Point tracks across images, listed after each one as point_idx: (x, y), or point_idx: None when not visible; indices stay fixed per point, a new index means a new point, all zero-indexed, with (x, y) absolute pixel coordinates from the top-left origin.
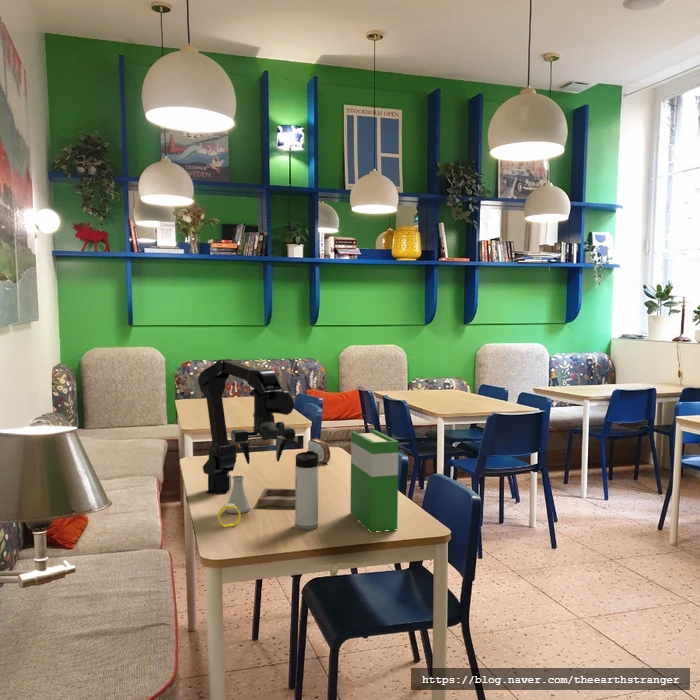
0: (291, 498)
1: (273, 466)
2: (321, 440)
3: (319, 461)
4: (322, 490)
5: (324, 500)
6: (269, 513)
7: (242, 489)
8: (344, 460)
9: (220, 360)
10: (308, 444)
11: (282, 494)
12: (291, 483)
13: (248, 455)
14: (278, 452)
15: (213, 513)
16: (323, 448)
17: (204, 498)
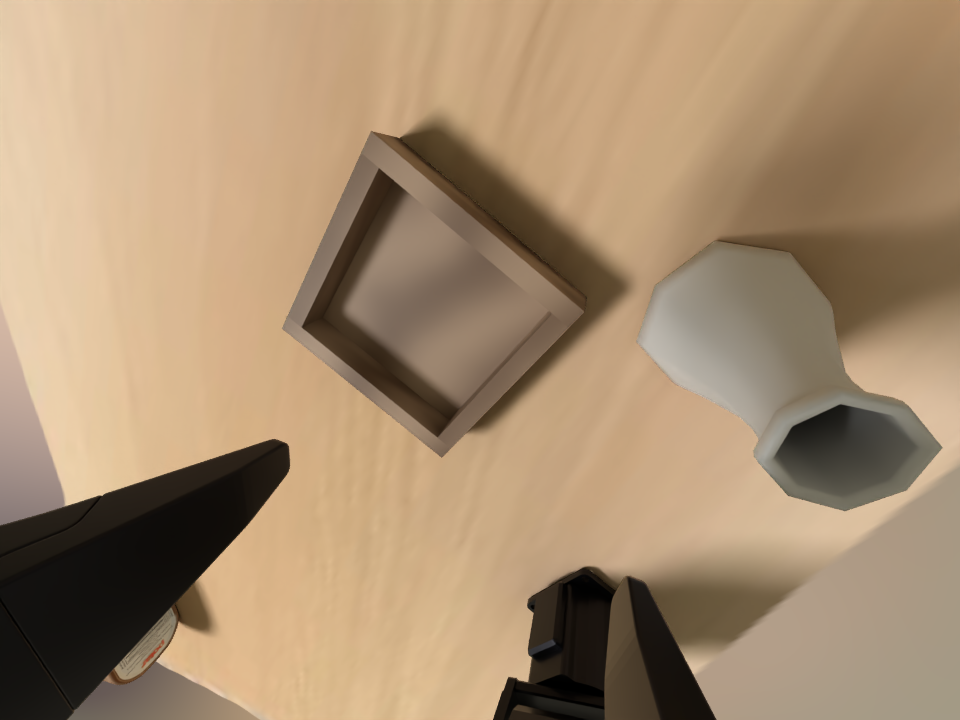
0: (371, 300)
1: (292, 645)
2: None
3: None
4: (212, 342)
5: (236, 195)
6: (603, 137)
7: (767, 342)
8: None
9: None
10: (142, 671)
11: (387, 374)
12: (295, 492)
13: (676, 718)
14: (176, 515)
15: (903, 364)
16: None
17: (714, 585)
